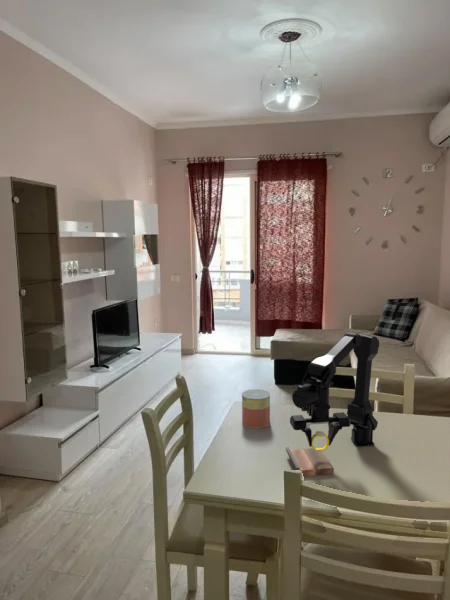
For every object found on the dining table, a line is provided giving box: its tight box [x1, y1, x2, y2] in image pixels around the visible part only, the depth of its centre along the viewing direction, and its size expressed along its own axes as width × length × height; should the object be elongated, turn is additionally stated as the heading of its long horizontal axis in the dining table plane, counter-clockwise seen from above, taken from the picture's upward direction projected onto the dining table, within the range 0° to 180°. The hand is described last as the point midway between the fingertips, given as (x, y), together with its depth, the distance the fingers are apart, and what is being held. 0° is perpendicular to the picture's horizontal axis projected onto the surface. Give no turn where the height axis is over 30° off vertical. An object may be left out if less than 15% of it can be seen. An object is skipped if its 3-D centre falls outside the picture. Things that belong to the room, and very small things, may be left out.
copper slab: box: [285, 446, 335, 477], centre depth 151 cm, size 12×14×3 cm
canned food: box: [241, 388, 271, 429], centre depth 184 cm, size 11×11×12 cm
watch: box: [311, 430, 329, 451], centre depth 150 cm, size 6×3×6 cm, turn 97°
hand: (319, 445), depth 150 cm, fingers closed on watch, 6 cm apart
